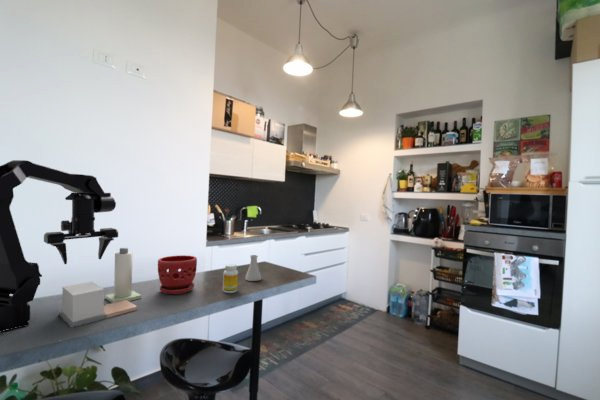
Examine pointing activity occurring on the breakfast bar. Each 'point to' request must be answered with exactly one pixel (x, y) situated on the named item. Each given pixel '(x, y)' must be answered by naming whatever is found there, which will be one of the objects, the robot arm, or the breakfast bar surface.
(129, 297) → the sage green pad
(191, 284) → the plant pot
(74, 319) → the grey unit
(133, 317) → the breakfast bar surface
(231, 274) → the supplement bottle
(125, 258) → the cream bottle
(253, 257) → the flask
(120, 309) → the terracotta pad
